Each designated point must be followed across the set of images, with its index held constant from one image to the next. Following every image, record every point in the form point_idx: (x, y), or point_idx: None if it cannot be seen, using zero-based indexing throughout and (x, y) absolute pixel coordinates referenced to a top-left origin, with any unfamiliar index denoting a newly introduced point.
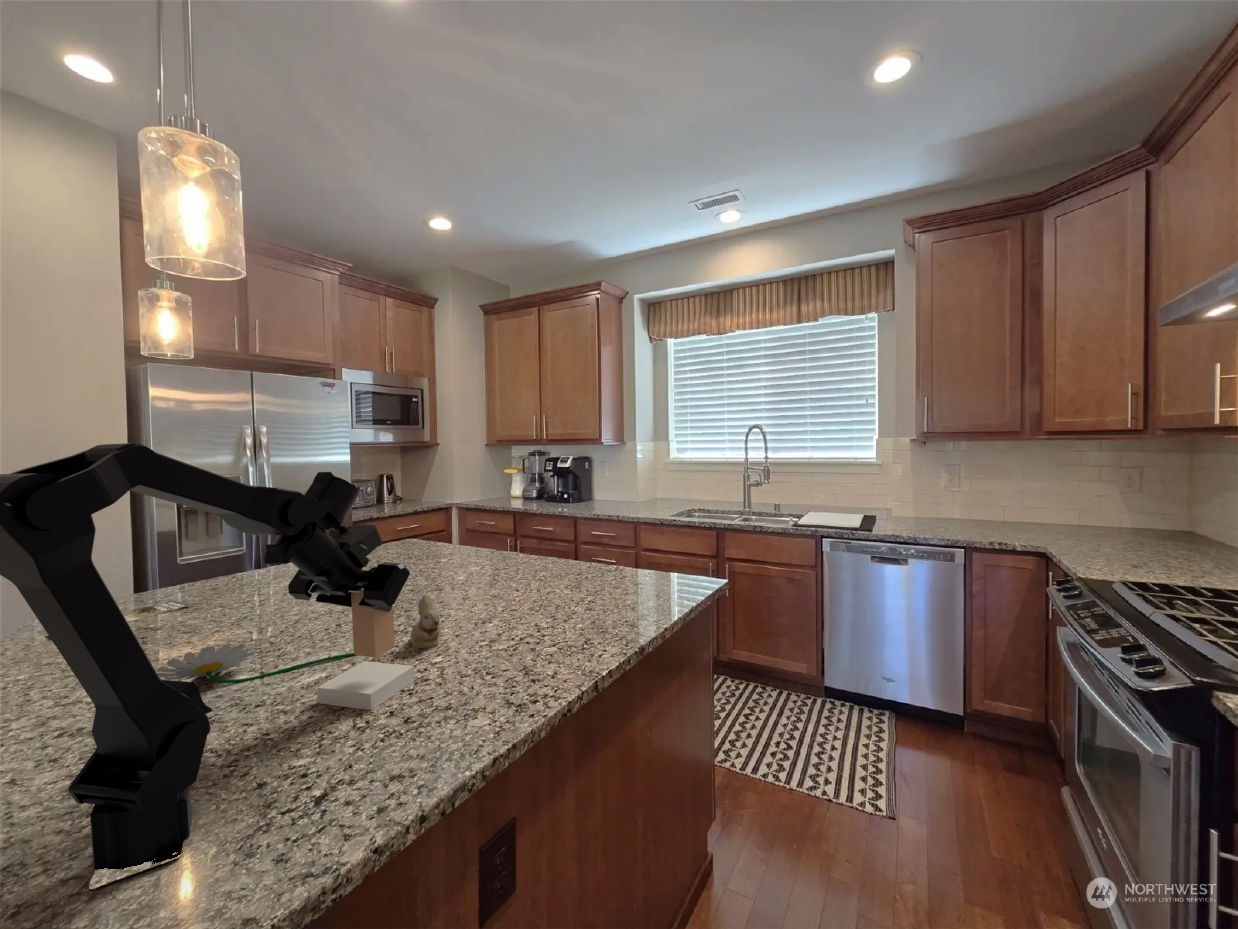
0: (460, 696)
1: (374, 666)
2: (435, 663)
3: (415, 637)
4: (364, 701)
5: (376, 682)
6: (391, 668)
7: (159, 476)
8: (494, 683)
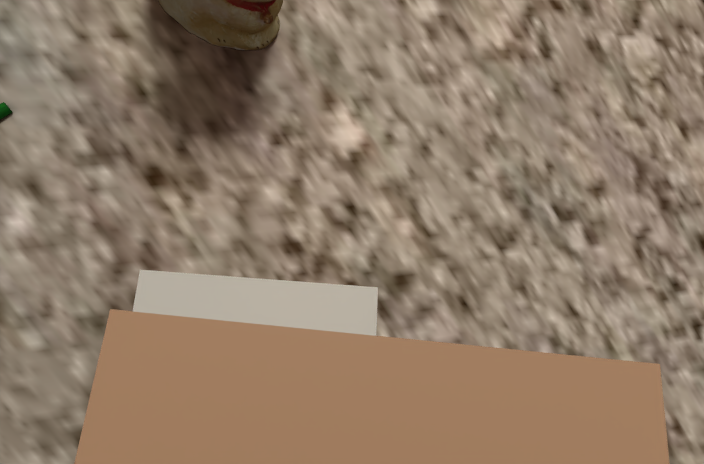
0: None
1: (218, 311)
2: (357, 162)
3: (197, 14)
4: None
5: None
6: (303, 320)
7: None
8: (616, 275)
